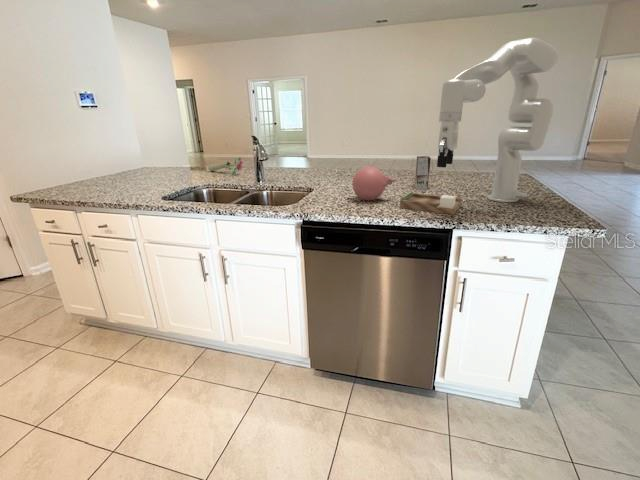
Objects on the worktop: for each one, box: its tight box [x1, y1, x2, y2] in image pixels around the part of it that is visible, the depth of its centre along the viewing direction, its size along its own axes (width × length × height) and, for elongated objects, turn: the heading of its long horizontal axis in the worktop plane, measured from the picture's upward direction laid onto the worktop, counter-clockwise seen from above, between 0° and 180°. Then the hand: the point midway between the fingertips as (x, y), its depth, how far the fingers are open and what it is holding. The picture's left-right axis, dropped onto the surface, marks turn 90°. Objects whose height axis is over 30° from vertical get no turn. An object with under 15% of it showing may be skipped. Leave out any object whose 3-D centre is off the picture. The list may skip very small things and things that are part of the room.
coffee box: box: [414, 155, 432, 190], centre depth 179 cm, size 9×6×16 cm
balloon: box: [351, 166, 397, 201], centre depth 156 cm, size 15×20×15 cm
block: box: [439, 194, 457, 209], centre depth 137 cm, size 5×5×4 cm
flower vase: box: [208, 157, 243, 175], centre depth 237 cm, size 12×12×35 cm
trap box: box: [399, 190, 463, 216], centre depth 144 cm, size 22×15×4 cm
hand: (444, 165), depth 128 cm, fingers open, 9 cm apart
